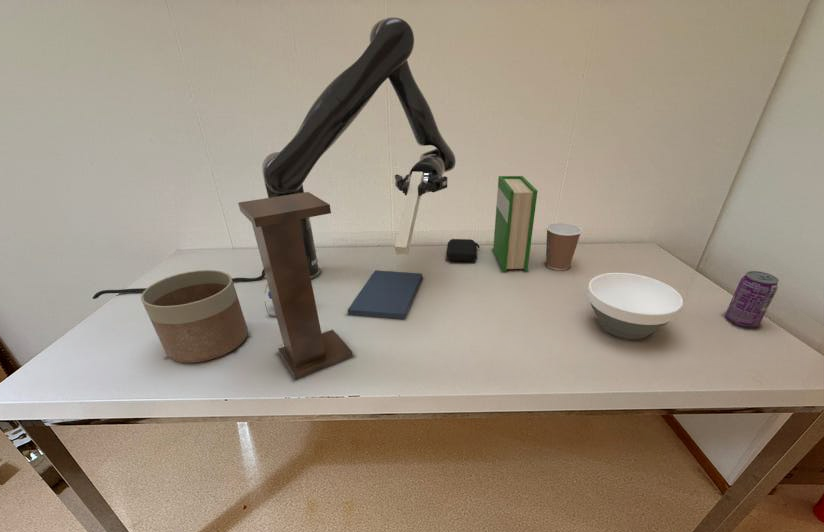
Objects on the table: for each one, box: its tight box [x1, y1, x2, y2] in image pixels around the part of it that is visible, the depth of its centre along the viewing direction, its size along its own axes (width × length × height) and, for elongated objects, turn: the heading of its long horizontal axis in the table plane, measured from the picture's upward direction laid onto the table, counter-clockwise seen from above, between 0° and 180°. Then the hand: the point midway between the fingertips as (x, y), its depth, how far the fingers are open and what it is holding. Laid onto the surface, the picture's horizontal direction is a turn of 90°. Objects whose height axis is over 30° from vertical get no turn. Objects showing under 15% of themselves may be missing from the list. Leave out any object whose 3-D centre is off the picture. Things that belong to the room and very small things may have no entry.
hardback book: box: [492, 175, 539, 273], centre depth 118 cm, size 18×7×24 cm, turn 4°
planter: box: [140, 269, 249, 363], centre depth 82 cm, size 16×16×14 cm
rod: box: [394, 172, 424, 256], centre depth 86 cm, size 22×2×2 cm, turn 172°
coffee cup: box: [545, 222, 583, 271], centre depth 118 cm, size 10×10×12 cm
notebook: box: [347, 269, 423, 320], centre depth 104 cm, size 14×22×2 cm, turn 172°
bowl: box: [587, 272, 684, 340], centre depth 89 cm, size 20×20×10 cm
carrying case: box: [445, 238, 480, 263], centre depth 127 cm, size 11×3×15 cm
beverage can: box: [724, 270, 780, 328], centre depth 91 cm, size 7×7×12 cm
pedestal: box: [237, 191, 354, 381], centre depth 73 cm, size 12×10×32 cm
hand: (412, 191), depth 87 cm, fingers closed on rod, 2 cm apart
